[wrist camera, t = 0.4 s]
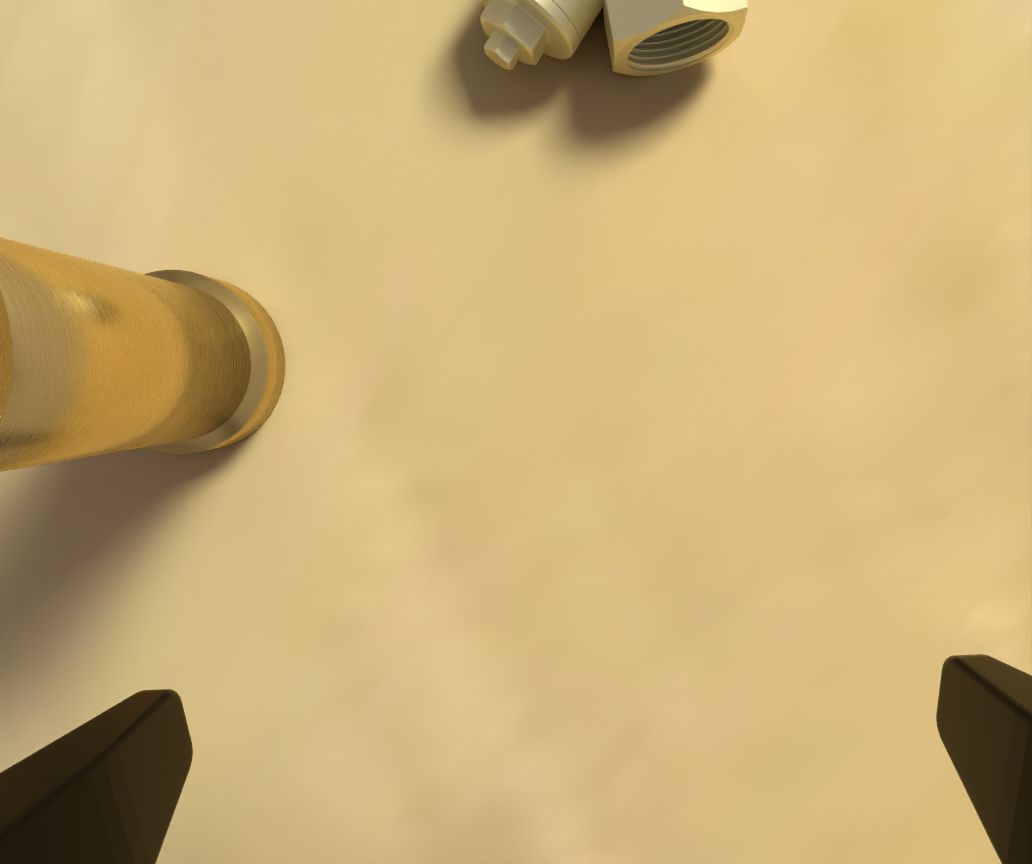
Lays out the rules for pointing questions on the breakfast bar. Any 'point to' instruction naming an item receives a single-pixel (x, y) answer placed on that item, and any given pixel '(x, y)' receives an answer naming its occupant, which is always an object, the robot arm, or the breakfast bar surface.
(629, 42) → the pipe fitting
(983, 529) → the breakfast bar surface
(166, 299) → the knob
